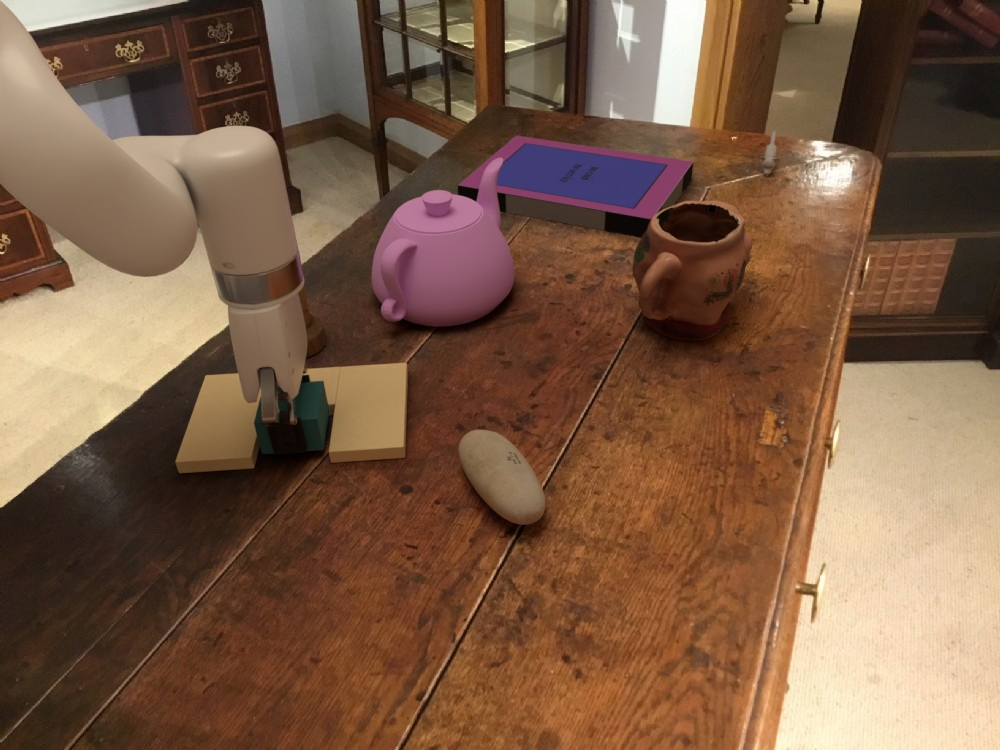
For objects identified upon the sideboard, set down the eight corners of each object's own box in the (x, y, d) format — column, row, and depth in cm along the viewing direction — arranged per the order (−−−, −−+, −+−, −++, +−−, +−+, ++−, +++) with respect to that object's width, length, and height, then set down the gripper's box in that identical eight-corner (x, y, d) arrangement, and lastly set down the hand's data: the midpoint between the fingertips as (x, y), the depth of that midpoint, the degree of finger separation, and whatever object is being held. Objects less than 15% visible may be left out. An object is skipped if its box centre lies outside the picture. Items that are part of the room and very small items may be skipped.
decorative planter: (696, 389, 91) (711, 275, 82) (594, 355, 96) (599, 246, 88) (760, 302, 104) (779, 197, 96) (667, 277, 110) (677, 175, 101)
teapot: (450, 361, 96) (442, 254, 88) (332, 318, 104) (314, 216, 96) (558, 265, 113) (560, 167, 105) (449, 234, 121) (442, 141, 113)
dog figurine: (754, 184, 136) (756, 167, 131) (762, 140, 138) (765, 121, 132) (775, 187, 135) (778, 170, 130) (783, 141, 137) (786, 123, 132)
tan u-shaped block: (178, 473, 83) (174, 462, 82) (208, 385, 94) (205, 375, 93) (405, 458, 84) (403, 446, 83) (408, 373, 95) (406, 362, 94)
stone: (493, 421, 83) (570, 458, 74) (488, 482, 85) (562, 526, 75) (442, 426, 80) (515, 465, 71) (438, 489, 82) (508, 536, 72)
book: (516, 135, 142) (693, 161, 131) (516, 152, 144) (691, 180, 133) (457, 185, 127) (652, 219, 116) (458, 203, 129) (650, 239, 118)
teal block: (262, 454, 83) (253, 423, 81) (271, 415, 88) (263, 384, 85) (323, 450, 83) (317, 418, 81) (329, 411, 88) (323, 380, 86)
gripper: (233, 229, 81) (270, 379, 92) (193, 330, 67) (242, 493, 78) (312, 224, 81) (340, 375, 92) (288, 324, 68) (324, 487, 78)
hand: (295, 427), depth 85 cm, fingers closed on teal block, 5 cm apart
